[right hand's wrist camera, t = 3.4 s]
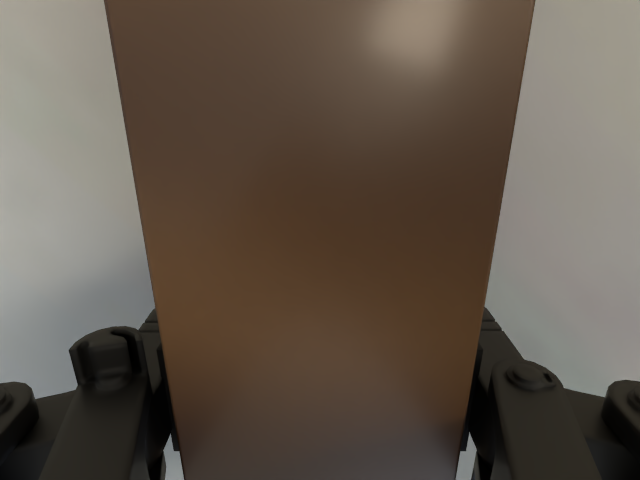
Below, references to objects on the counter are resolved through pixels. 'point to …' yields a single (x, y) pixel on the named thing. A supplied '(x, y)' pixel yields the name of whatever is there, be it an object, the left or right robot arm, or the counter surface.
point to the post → (319, 221)
